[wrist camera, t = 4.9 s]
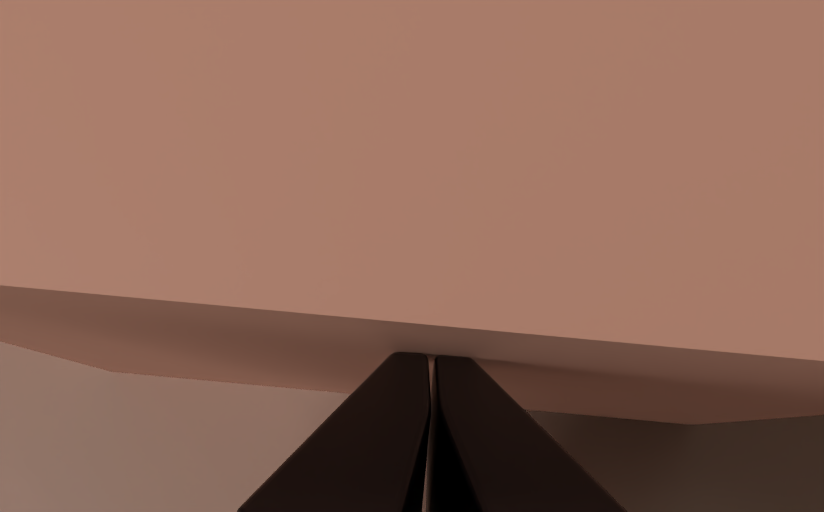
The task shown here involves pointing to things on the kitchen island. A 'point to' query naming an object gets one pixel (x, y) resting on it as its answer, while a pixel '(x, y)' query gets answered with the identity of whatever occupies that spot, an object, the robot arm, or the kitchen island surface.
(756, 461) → the kitchen island surface
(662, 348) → the terracotta block
